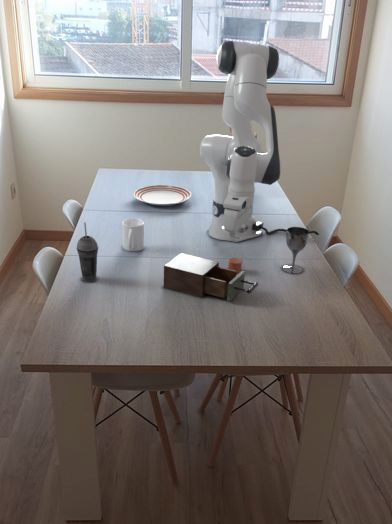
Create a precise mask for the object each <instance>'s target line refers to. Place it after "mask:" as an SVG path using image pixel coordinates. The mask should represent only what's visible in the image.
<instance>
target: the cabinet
mask: <svg viewBox="0 0 392 524" xmlns="http://www.w3.org/2000/svg"><path fill="white" fill-rule="evenodd" d="M216 266H218V267H220V261H217V260H212V259H208V258H204V257H201V256H195V255H191V254H188V253H182V252H181V253H179V254H178V255H176V256H174V258H172V259H171V260H169V261H168V262H167V263H166V264H164V265H163V288H164V289H168V290H172V291H176V292H180V293H183V294H187V295H191V296H195V297H198V298H203V297H205V295H207V294H206V293H203V286H204V276H206V275H207V274H208V273H209V272H210V271H211V270H213V269H214V268H215V267H216Z"/></svg>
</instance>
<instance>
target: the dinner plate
mask: <svg viewBox="0 0 392 524" xmlns="http://www.w3.org/2000/svg"><path fill="white" fill-rule="evenodd" d="M133 197H134V198H135V199H136V200H138V201H140V202H142V203H145V204H148V205H151V206H157V207H171V206H174V205H175V206H176V205H179V204H183V203H184V202H187V201H188V200H190V199H191V198H192V192H191V191H190V190H189V189H187V188H184V187H182V186H177V185H172V184H151V185H146V186H142V187H139V188H137V189H136V190H135V191H134V192H133Z"/></svg>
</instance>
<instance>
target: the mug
mask: <svg viewBox="0 0 392 524" xmlns="http://www.w3.org/2000/svg"><path fill="white" fill-rule="evenodd" d="M121 224H122V225H121V226H122V227H121V230H122V249H124V250H125V251H127V252H133V253H135V252H140V251H142V250H144V248H145V222H144V220H142V219H139V218H127V219H124V220H122V222H121Z"/></svg>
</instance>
